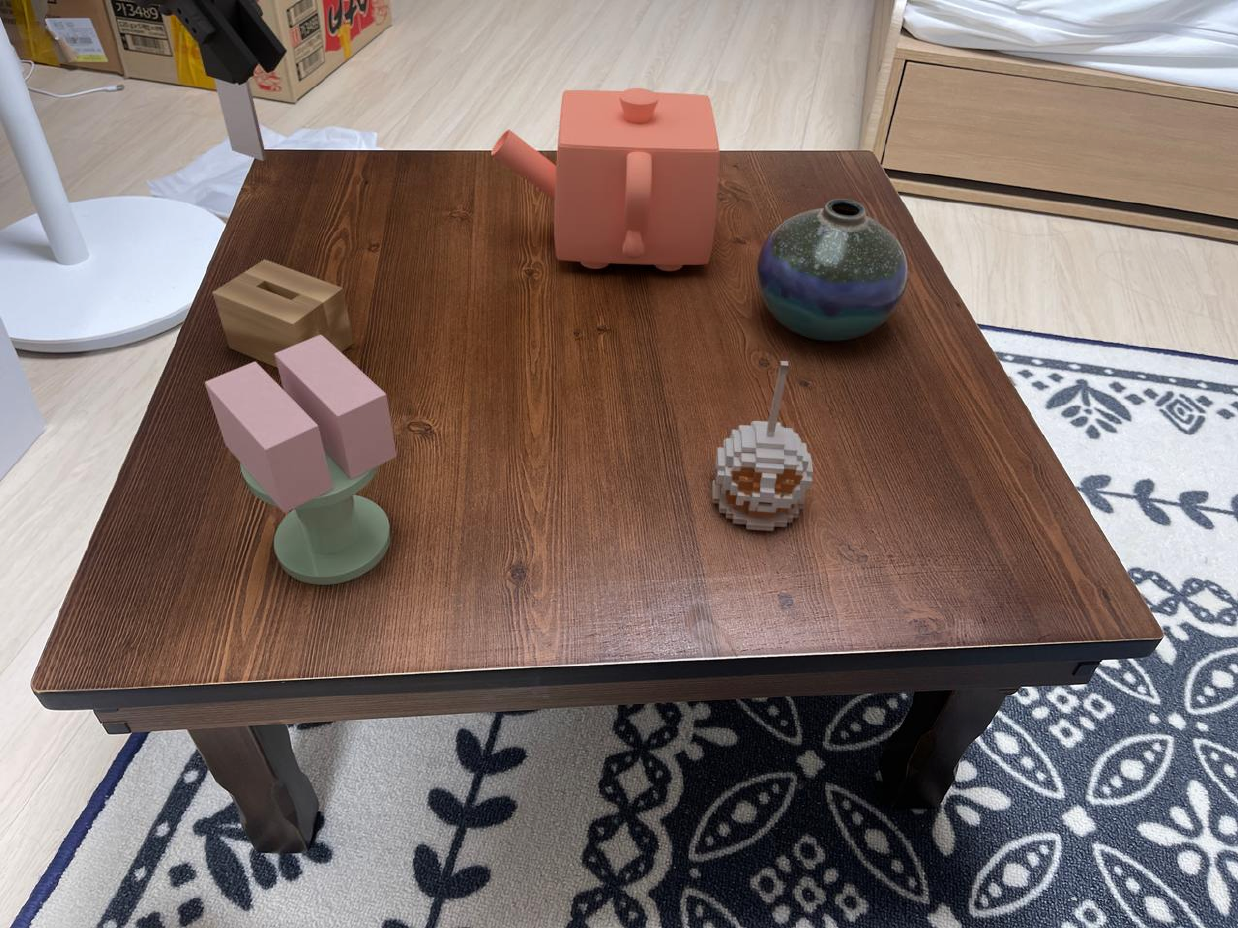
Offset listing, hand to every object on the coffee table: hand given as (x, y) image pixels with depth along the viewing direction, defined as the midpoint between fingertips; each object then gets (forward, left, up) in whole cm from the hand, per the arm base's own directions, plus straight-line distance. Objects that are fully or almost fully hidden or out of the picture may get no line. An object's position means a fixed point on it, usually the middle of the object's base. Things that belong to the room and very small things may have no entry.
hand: (262, 67), depth 72 cm
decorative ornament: (+19, -40, -29) cm, 53 cm away
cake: (-11, -21, -19) cm, 30 cm away
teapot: (+37, +1, -29) cm, 47 cm away
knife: (-1, +4, -8) cm, 9 cm away
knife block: (-1, +5, -29) cm, 30 cm away
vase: (+45, -26, -29) cm, 59 cm away
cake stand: (-11, -21, -29) cm, 37 cm away
